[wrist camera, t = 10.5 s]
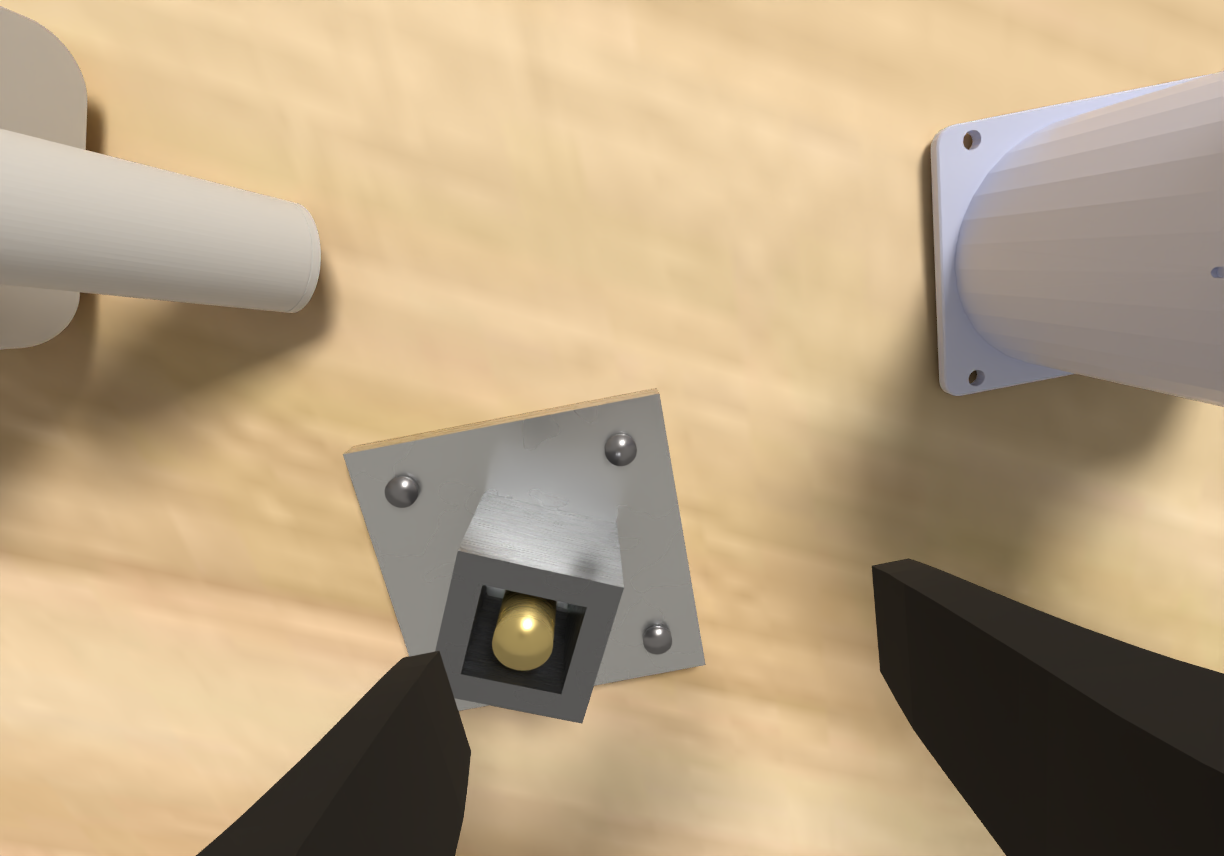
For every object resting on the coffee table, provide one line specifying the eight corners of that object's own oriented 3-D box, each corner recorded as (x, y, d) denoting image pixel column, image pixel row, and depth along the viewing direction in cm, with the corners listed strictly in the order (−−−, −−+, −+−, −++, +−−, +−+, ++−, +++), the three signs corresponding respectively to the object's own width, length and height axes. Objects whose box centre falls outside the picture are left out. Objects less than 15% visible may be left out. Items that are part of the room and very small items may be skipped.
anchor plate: (656, 388, 19) (679, 430, 14) (701, 650, 22) (733, 760, 17) (352, 446, 19) (273, 507, 14) (434, 700, 22) (391, 823, 17)
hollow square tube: (617, 523, 19) (624, 587, 16) (583, 637, 20) (582, 723, 17) (484, 492, 19) (457, 550, 15) (457, 609, 20) (425, 693, 16)
